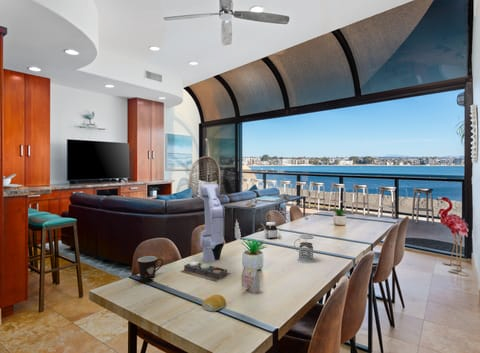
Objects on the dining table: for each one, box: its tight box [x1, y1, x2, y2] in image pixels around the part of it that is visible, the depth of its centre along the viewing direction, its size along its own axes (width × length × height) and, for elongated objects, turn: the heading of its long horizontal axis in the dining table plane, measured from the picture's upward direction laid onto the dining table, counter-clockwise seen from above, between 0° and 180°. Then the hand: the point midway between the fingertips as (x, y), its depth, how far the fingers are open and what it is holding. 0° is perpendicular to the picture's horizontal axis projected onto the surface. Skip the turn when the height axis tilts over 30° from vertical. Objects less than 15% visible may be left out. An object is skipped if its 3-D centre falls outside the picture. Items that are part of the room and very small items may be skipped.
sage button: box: [201, 263, 211, 270], centre depth 143 cm, size 4×4×2 cm
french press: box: [293, 216, 315, 264], centre depth 165 cm, size 10×12×25 cm
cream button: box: [188, 260, 199, 267], centre depth 147 cm, size 4×4×2 cm
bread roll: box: [201, 294, 227, 312], centre depth 112 cm, size 8×9×4 cm
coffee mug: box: [137, 255, 164, 283], centre depth 138 cm, size 12×9×10 cm
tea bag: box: [241, 265, 260, 294], centre depth 126 cm, size 4×7×10 cm, turn 51°
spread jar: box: [263, 221, 282, 240], centre depth 218 cm, size 12×11×12 cm
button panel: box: [179, 262, 232, 283], centre depth 143 cm, size 12×23×4 cm, turn 57°
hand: (217, 259), depth 138 cm, fingers closed
